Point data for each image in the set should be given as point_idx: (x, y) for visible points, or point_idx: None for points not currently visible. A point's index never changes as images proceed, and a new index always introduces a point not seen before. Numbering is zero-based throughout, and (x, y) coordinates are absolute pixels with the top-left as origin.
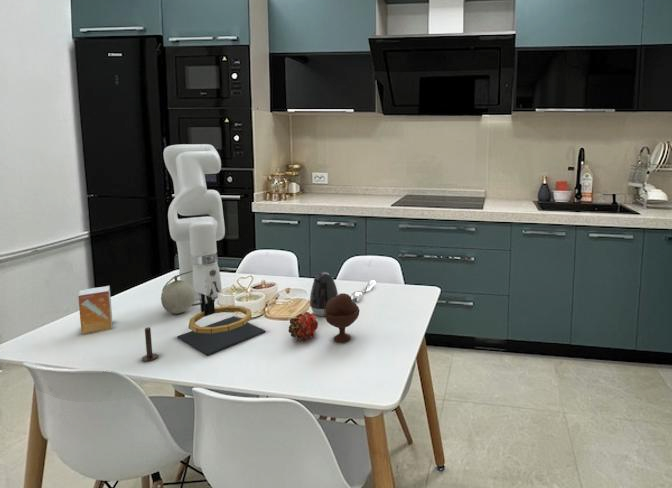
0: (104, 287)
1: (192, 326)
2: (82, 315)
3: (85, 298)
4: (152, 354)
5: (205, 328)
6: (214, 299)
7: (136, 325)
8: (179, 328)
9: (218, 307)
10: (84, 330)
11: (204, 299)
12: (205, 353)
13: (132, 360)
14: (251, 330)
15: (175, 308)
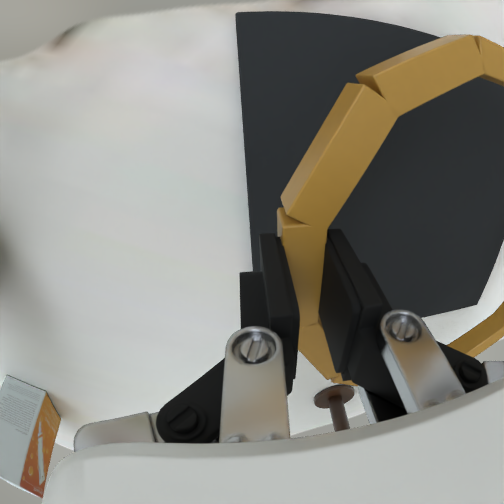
0: None
1: None
2: (50, 455)
3: (39, 488)
4: (340, 400)
5: (485, 348)
6: (454, 350)
7: (43, 362)
8: (151, 301)
9: (311, 182)
10: (58, 423)
11: (286, 388)
12: (468, 305)
13: (303, 414)
14: (500, 102)
15: None
